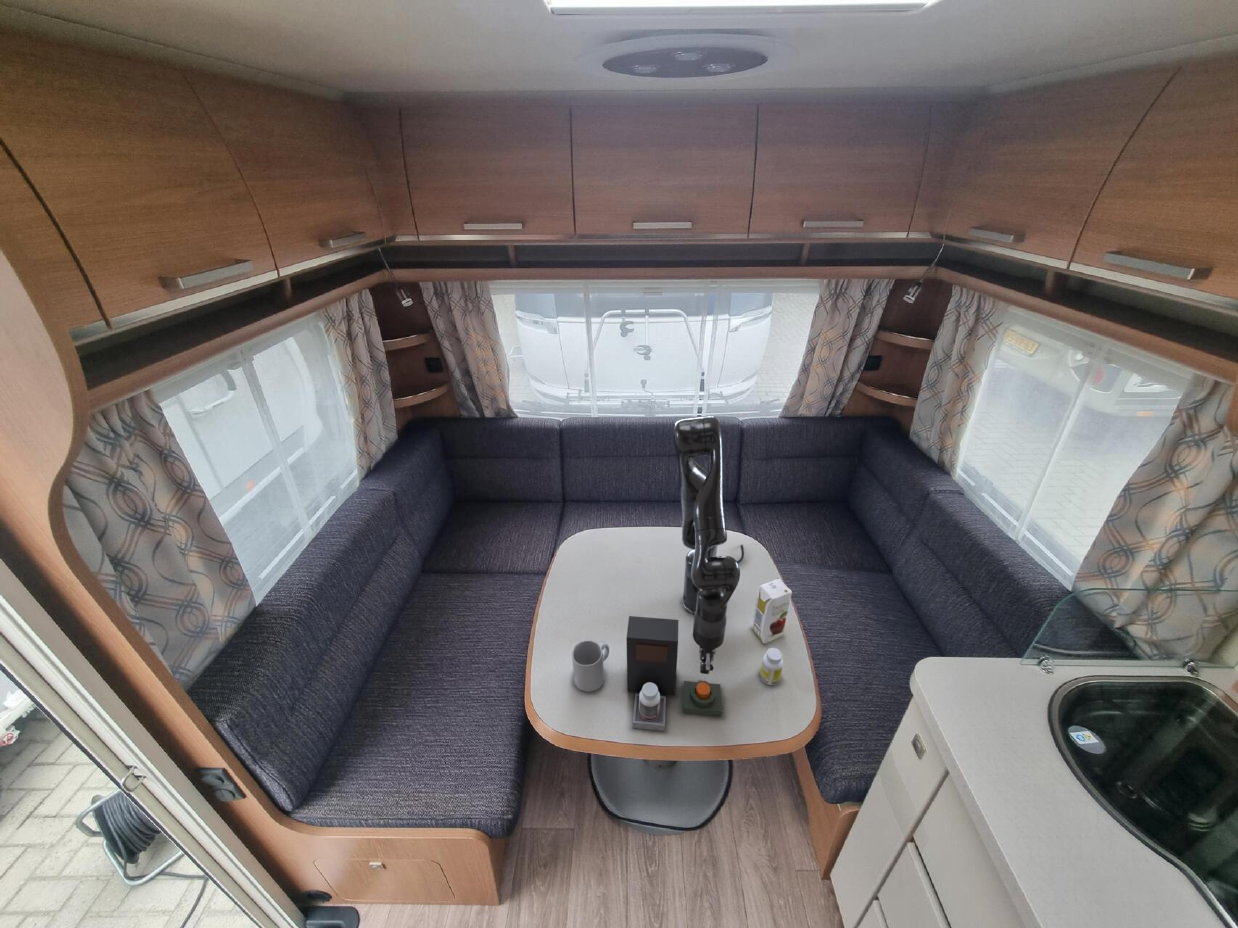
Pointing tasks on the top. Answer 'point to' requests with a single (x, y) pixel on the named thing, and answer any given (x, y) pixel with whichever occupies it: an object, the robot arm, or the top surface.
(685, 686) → the button block
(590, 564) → the top surface
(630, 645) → the coffee maker
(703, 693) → the button
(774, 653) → the supplement bottle
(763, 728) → the top surface
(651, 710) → the pill bottle
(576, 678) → the mug
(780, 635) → the juice carton
